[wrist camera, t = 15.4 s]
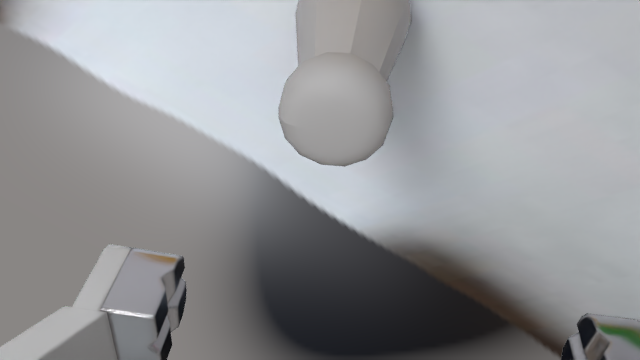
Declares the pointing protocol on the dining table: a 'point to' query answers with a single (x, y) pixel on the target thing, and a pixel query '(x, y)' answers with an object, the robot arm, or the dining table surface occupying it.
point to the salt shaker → (343, 78)
